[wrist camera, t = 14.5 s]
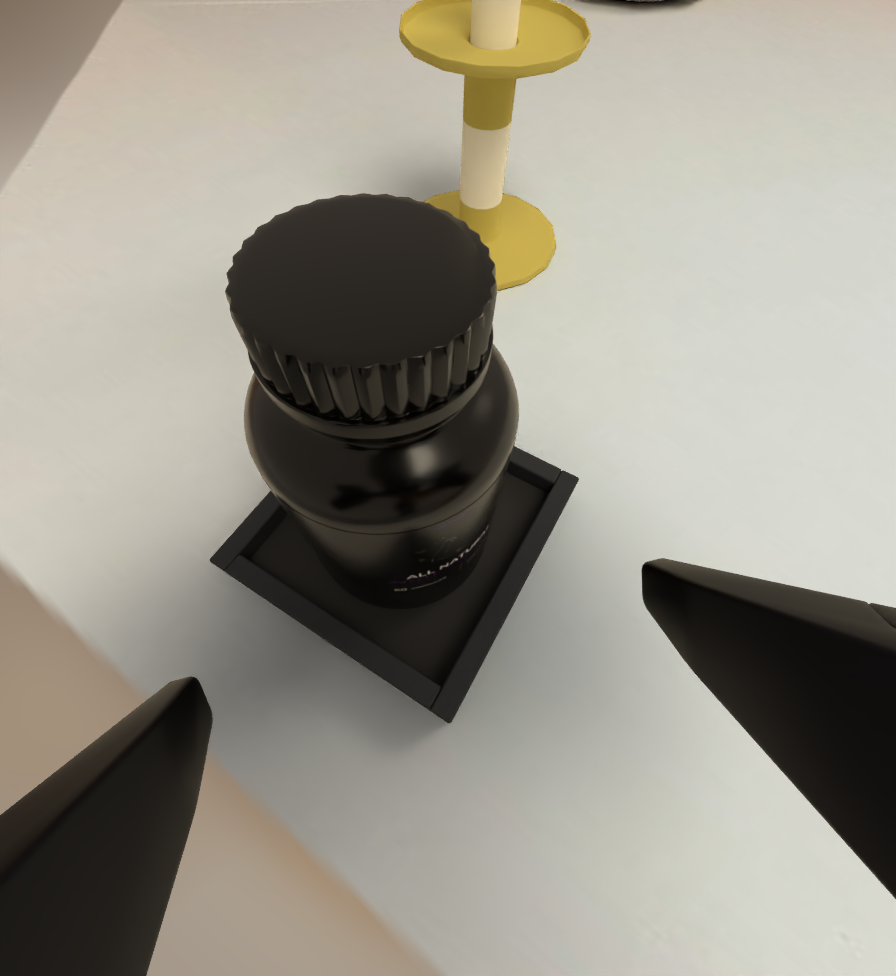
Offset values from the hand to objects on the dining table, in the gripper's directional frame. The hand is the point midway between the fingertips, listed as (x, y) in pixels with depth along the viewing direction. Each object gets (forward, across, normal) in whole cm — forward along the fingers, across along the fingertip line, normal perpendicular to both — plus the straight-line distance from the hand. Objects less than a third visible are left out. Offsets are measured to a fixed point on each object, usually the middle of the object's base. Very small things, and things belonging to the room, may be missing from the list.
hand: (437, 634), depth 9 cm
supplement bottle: (+10, 0, +2) cm, 10 cm away
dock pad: (+10, 0, +2) cm, 10 cm away
